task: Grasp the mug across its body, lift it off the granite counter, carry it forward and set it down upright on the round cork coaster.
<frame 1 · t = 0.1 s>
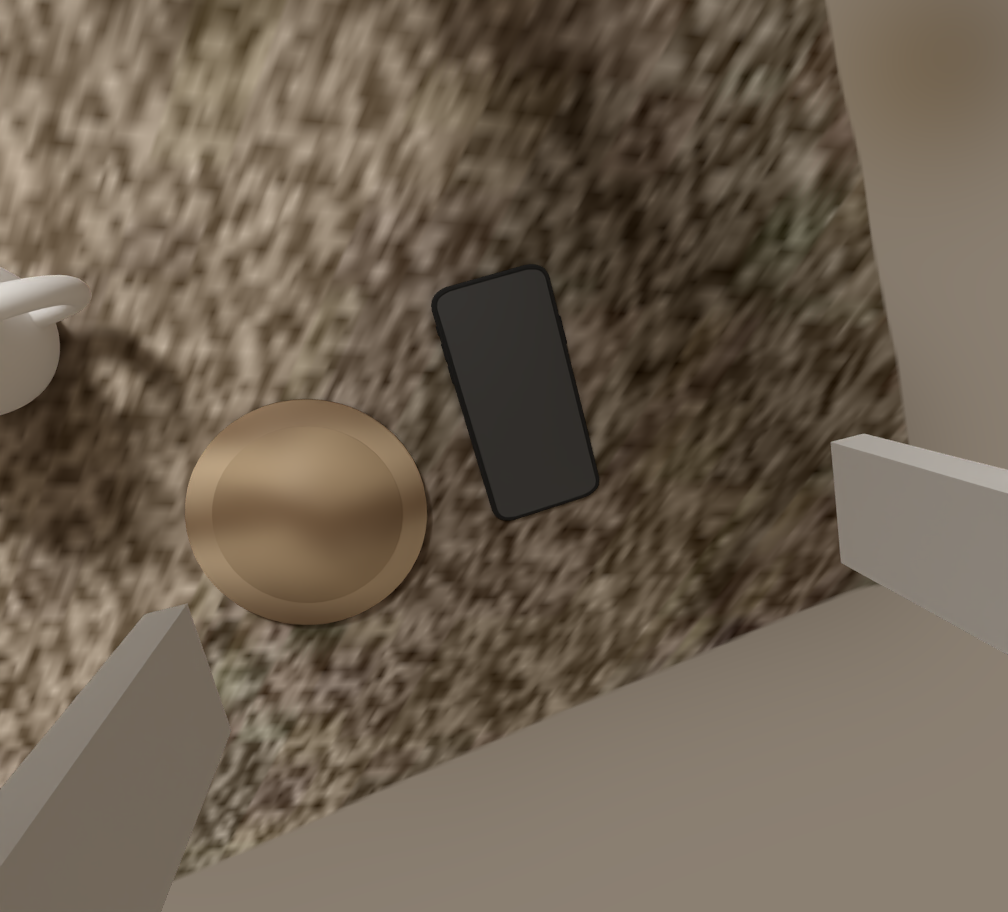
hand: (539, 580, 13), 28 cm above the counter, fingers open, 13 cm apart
mug: (18, 326, 36), on the counter
smartphone: (517, 396, 41), on the counter
coaster: (310, 513, 40), on the counter
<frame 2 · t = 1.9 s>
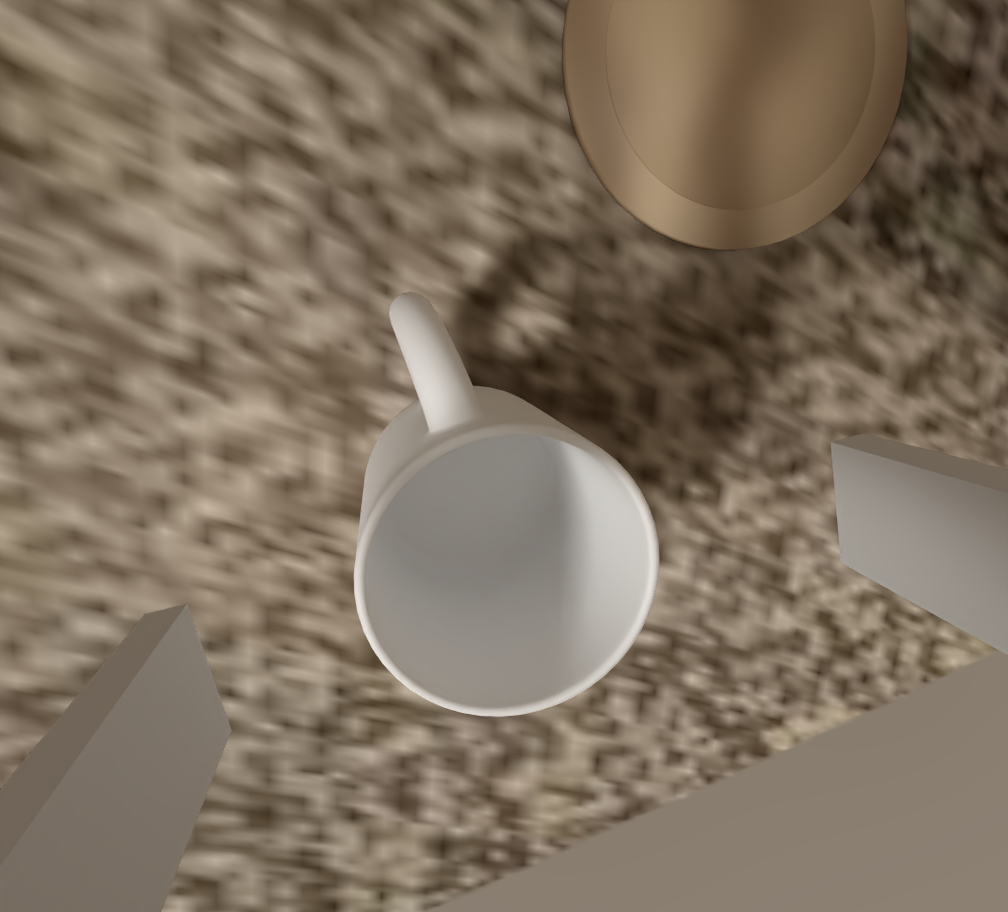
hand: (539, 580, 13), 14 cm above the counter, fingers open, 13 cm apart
mug: (451, 439, 27), on the counter
coaster: (735, 63, 26), on the counter
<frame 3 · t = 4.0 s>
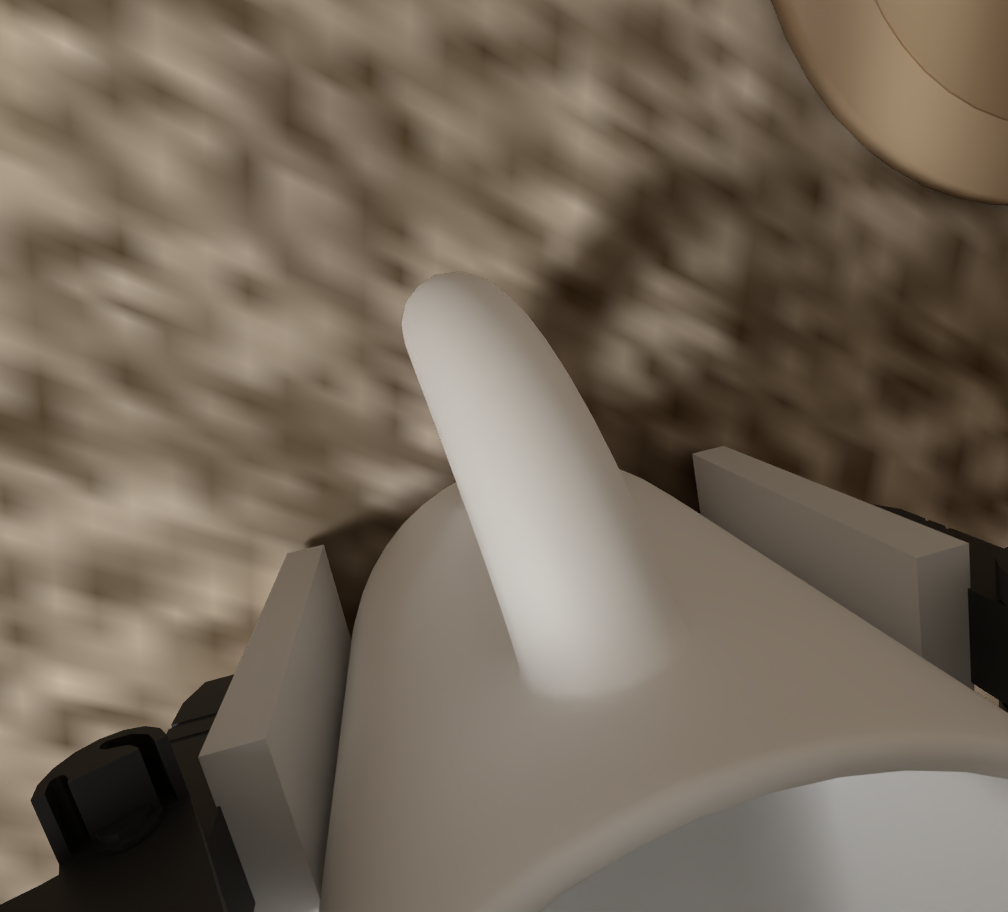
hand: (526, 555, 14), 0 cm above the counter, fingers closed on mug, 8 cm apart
mug: (511, 548, 15), on the counter, touching gripper
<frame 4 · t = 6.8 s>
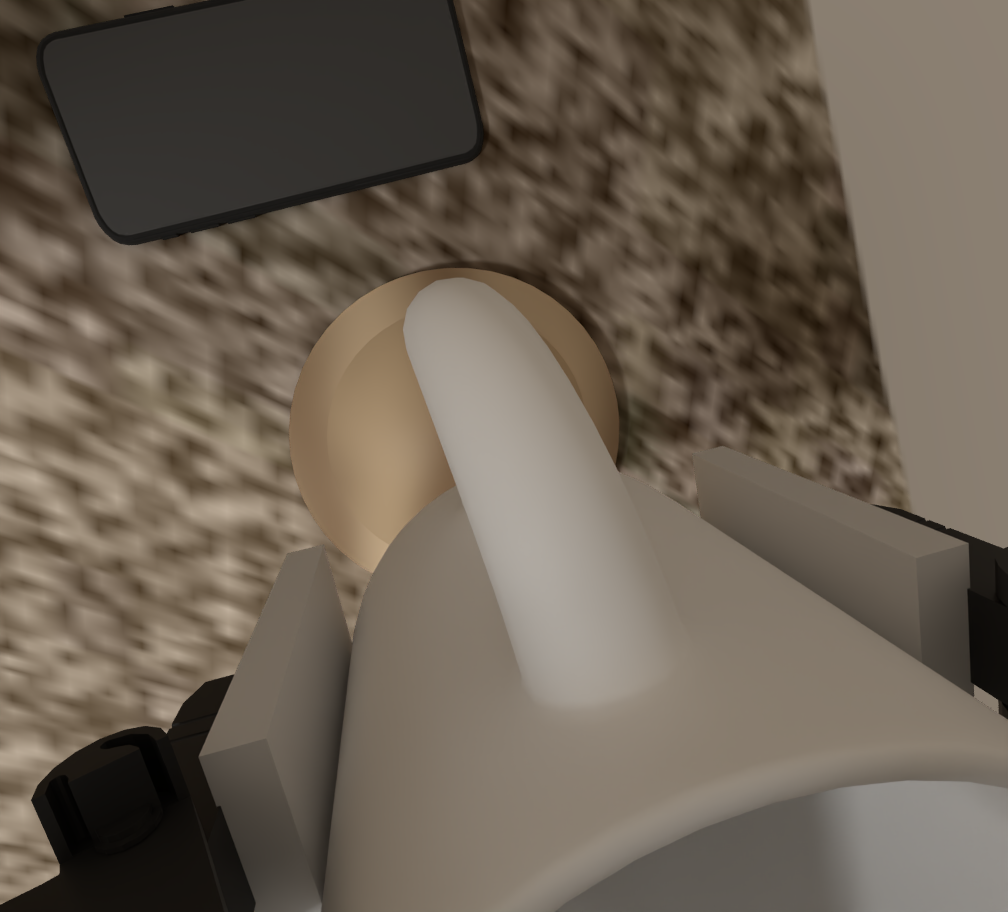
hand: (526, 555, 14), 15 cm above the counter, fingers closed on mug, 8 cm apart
mug: (512, 551, 15), point 14 cm above the counter, touching gripper
smartphone: (278, 108, 25), on the counter
coaster: (459, 436, 29), on the counter
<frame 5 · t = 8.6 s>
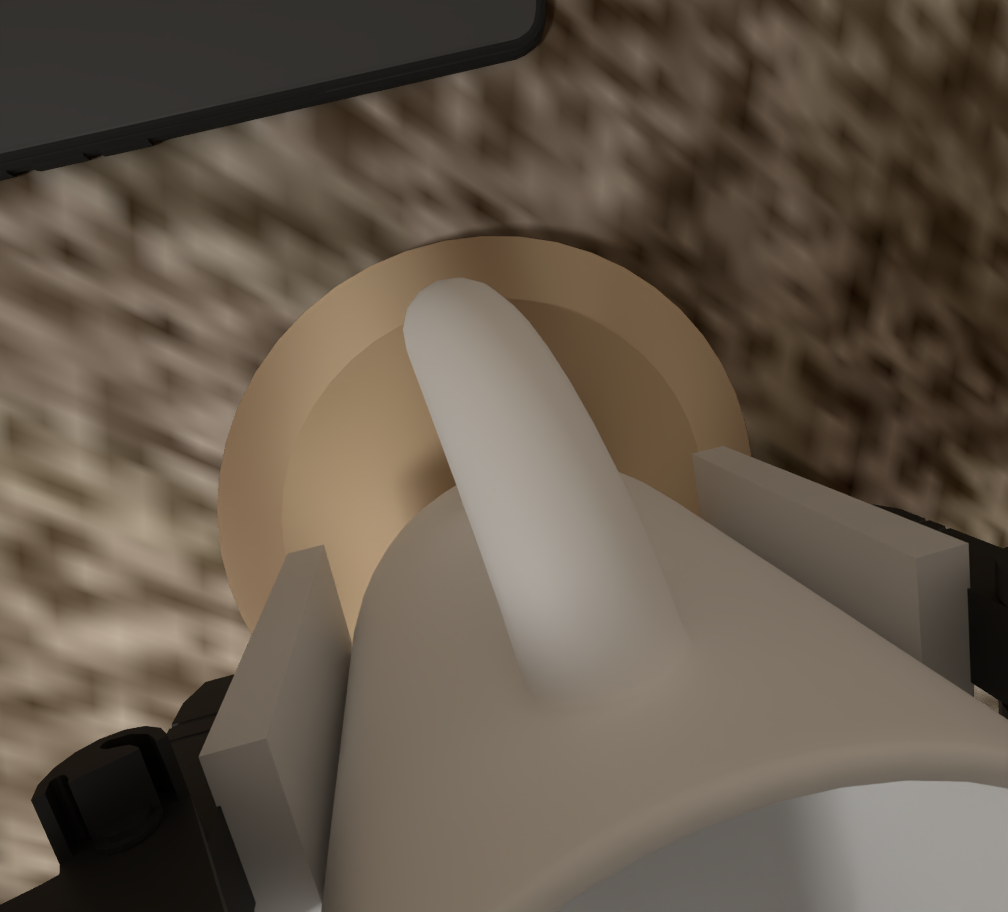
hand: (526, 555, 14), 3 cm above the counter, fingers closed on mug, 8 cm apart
mug: (512, 551, 15), point 3 cm above the counter, touching gripper
coaster: (499, 511, 18), on the counter
when the fingers open (2 cm above the counter, at t = 9.8 s): mug drops 1 cm, resting on coaster.
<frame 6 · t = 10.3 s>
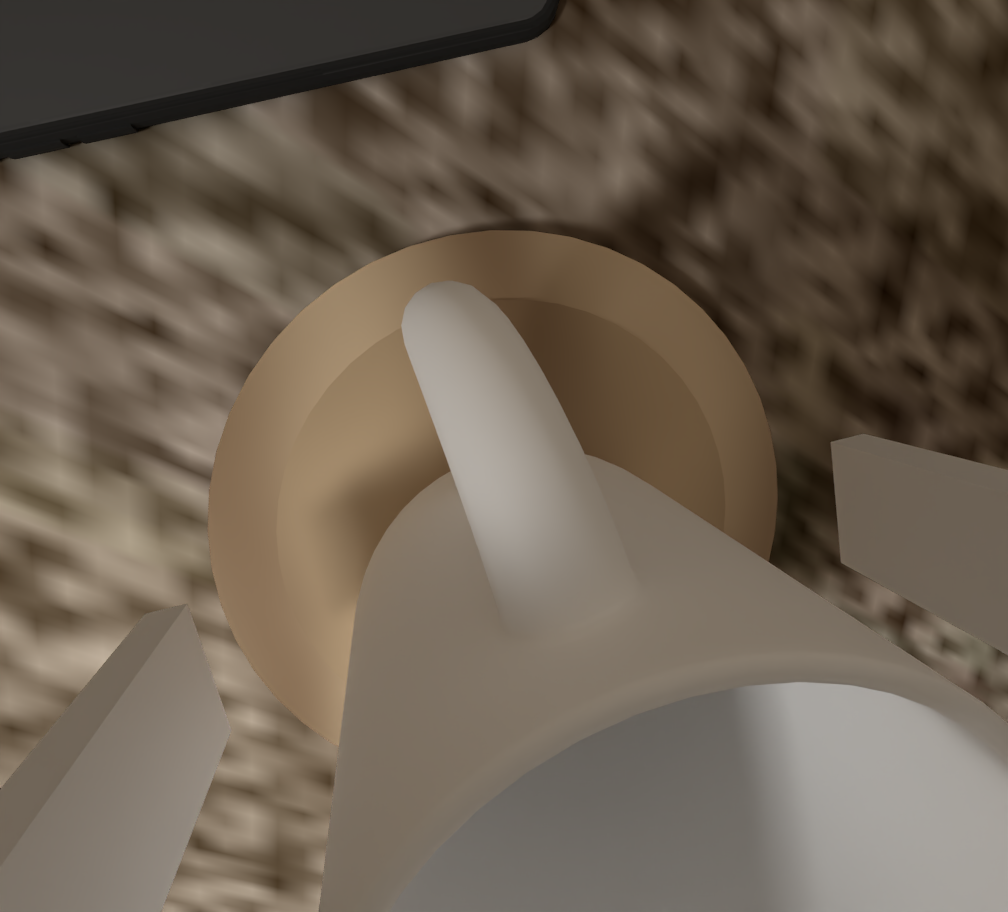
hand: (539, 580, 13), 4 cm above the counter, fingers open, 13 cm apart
mug: (503, 533, 16), point 1 cm above the counter, touching coaster
coaster: (508, 523, 17), on the counter
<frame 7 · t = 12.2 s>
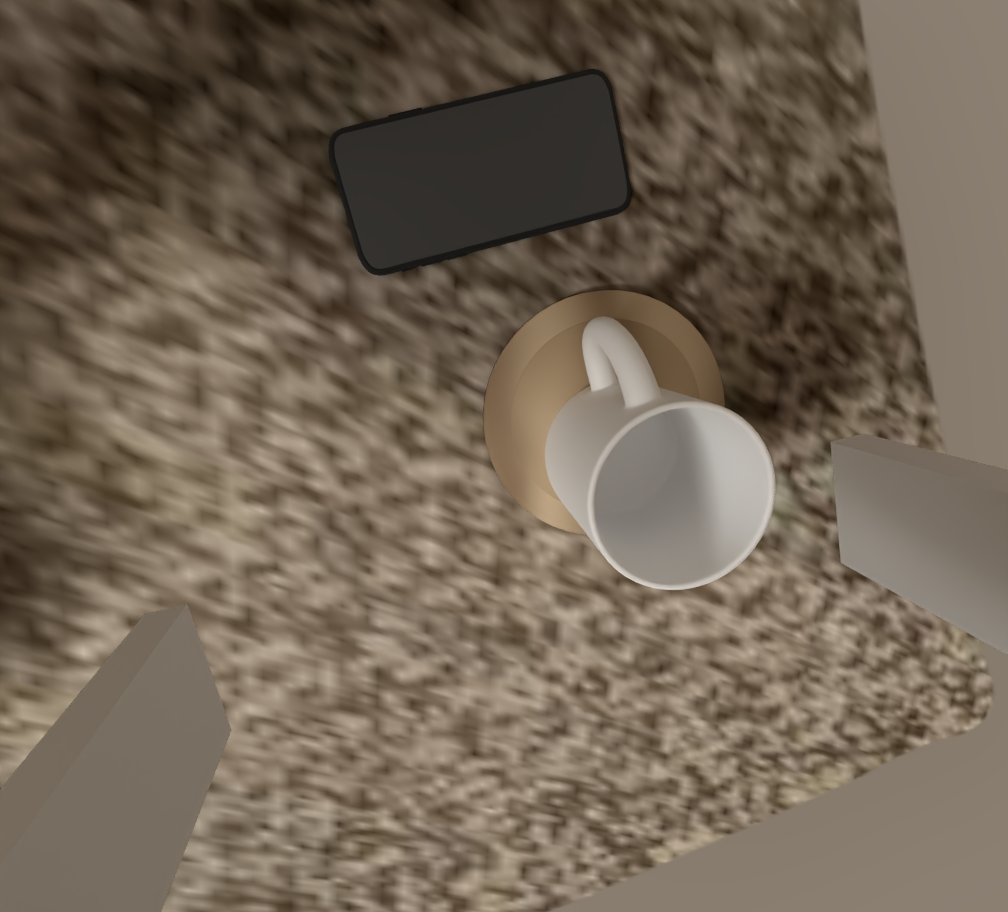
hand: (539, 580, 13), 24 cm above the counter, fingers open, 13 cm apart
mug: (602, 418, 37), point 1 cm above the counter, touching coaster
smartphone: (483, 175, 35), on the counter
coaster: (604, 415, 38), on the counter
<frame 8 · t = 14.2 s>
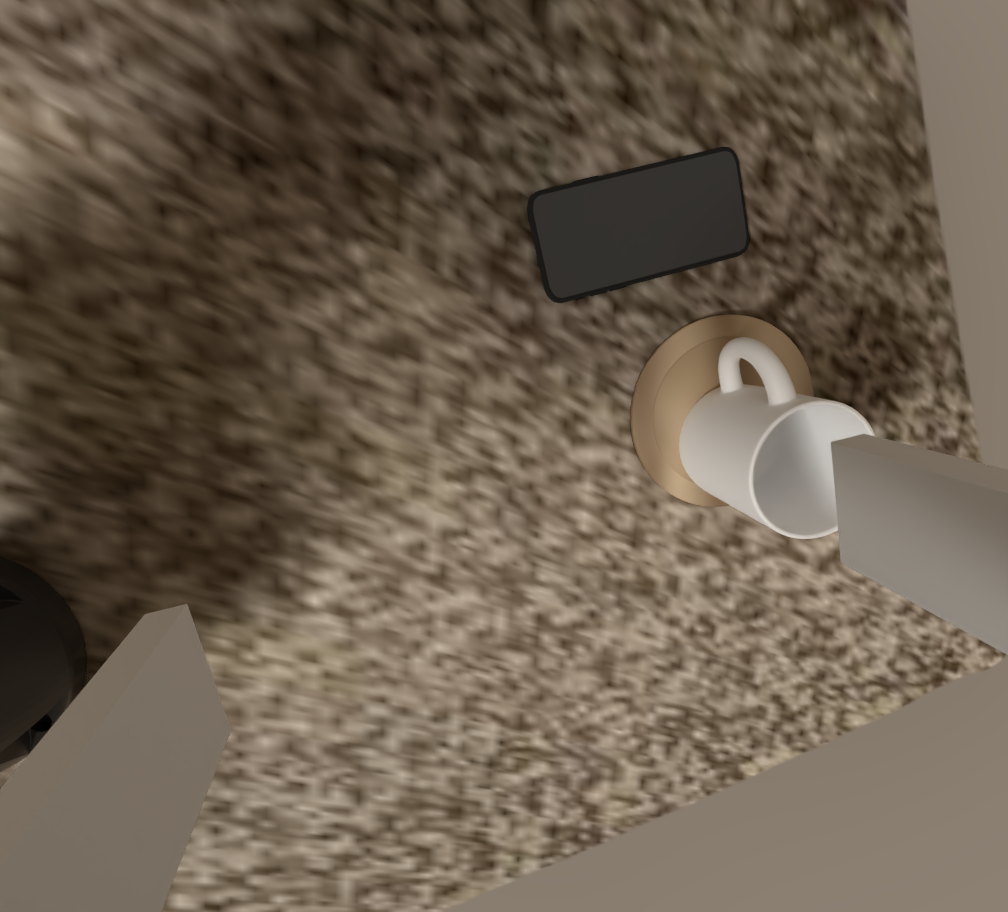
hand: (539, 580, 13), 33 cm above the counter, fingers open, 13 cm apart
mug: (721, 414, 48), point 1 cm above the counter, touching coaster
smartphone: (637, 226, 45), on the counter
coaster: (721, 412, 48), on the counter
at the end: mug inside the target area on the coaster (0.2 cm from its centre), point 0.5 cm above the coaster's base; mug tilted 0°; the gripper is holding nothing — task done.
